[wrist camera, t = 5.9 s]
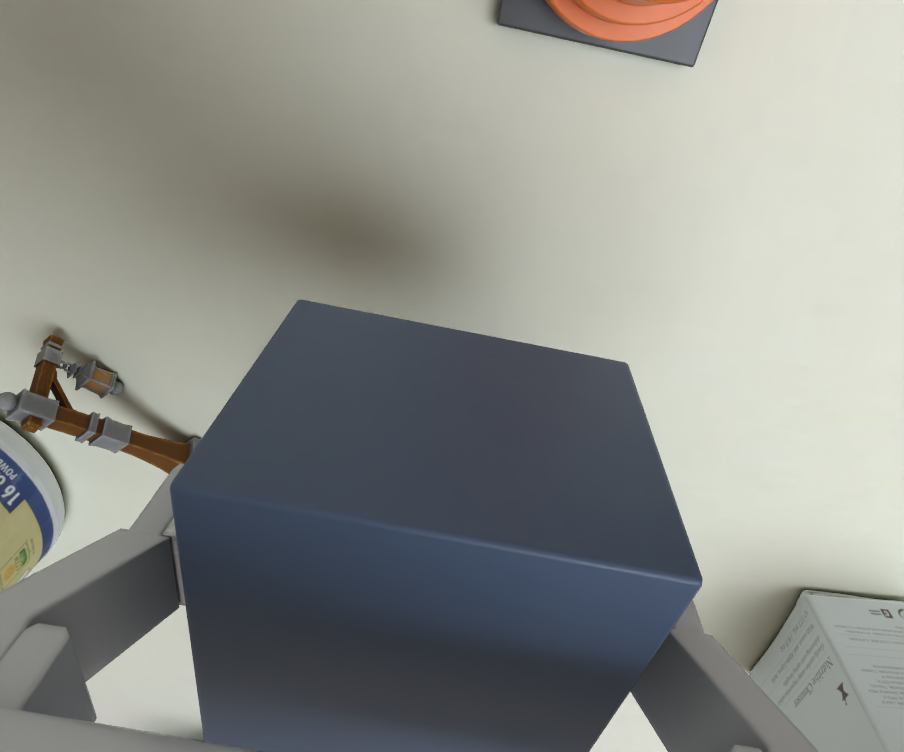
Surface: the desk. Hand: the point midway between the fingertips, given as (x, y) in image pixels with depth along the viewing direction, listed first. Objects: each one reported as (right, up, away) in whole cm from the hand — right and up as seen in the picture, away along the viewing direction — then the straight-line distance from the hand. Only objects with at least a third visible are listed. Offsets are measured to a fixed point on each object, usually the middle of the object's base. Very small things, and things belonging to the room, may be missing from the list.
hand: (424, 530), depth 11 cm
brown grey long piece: (-14, +2, +16) cm, 21 cm away
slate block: (0, +1, +2) cm, 2 cm away
